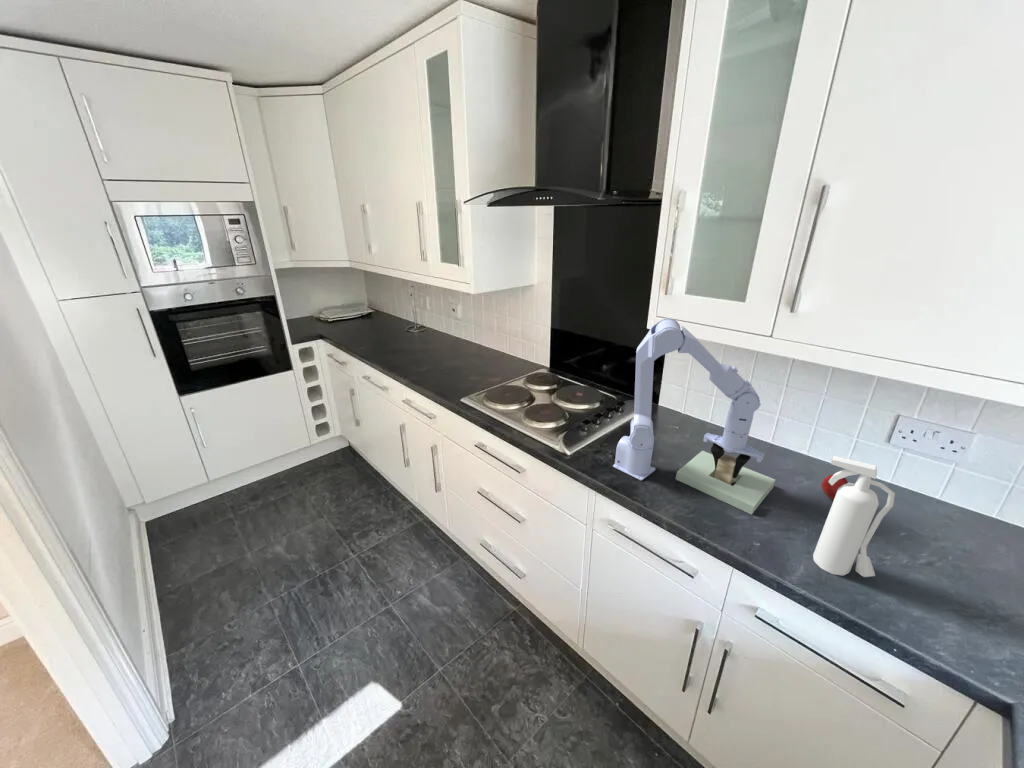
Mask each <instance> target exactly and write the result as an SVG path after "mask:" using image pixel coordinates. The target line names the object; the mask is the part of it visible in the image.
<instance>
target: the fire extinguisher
mask: <svg viewBox="0 0 1024 768" xmlns="http://www.w3.org/2000/svg"><path fill="white" fill-rule="evenodd" d="M830 465H833V466H835V467H839V468H842V470H840V471H837V472H835V473H833V474H834V475H833V474H832V475H833V476H832V477H831V478H830V480H829V481H828V482H829V483H830V484H831V485H833V484H834V483H835V482H836V481H838V480H839V479H842V478H847V477H849V476H854V475H857V476H858V475H859V476H858V477H857V479H856V481H855V483H854V482H853V483H852V482H848V483H847V484H844V485H842V486H841V487H840V488H838V490H837V493H836V496H835V498H834V499H833V501H832V504H831V506H830V509H829V512H828V515H827V516H826V517H827V518H826V519H825V523H824V524H823V528H822V530H821V534H820V536H819V539H818V541H817V543H816V546H815V549H814V552H813V555H812V557H813V562H814V563H815V564H816V565H817V566H818V567H819V568H820V569H822V570H824V571H826V572H827V573H829V574H832V575H837V576H842V577H843V576H845V575H847V574H849V573H850V572H851V570H852V567H853V565H854V563H855V560H856V563H855V564H856V565H855V572H856V573H858V574H859V575H860V576H862V577H863V578H869V577H870V578H871V577H876V574H875V570H874V567H873V564H872V561H871V557H869V556H868V555H867V553H868V552H867V550H868V549H867V547H868V545H869V543H870V542H871V539H872V538H873V537H874V536H873V535H875V532H876V531H877V529H878V527H879V526H880V524H881V522H882V521H883V519H884V517H885V516H886V515H887V514H888V513H889V511H890V510H891V509H892V508H893V507H894V504H895V496H896V493H895V491H893V490H892V489H890V487H888V486H887V485H886V484H885V483H883V482H879V481H877V480H874V479H877V476H878V475H877V474H878V472H877V471H878V470H877V465H875V464H872V463H868V462H863V461H859V460H854V459H850V458H845V457H841V456H837V455H833V457H832V459H831V461H830ZM871 485H873V486H875V487H878V488H880V489H882V491H884V492H886V493H887V494H888V495H887V499H886V504H885V505H884V506H883V507H882V509H880V510H879V512H878V513H877V514H876V512H877V509H878V507H879V505H880V504H879V499H878V495H877V493H876V492H875V491H874V490H872V489H870V486H871ZM875 514H876V516H875ZM874 516H875V518H874ZM873 519H874V520H873ZM859 551H860V553H859Z"/></svg>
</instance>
